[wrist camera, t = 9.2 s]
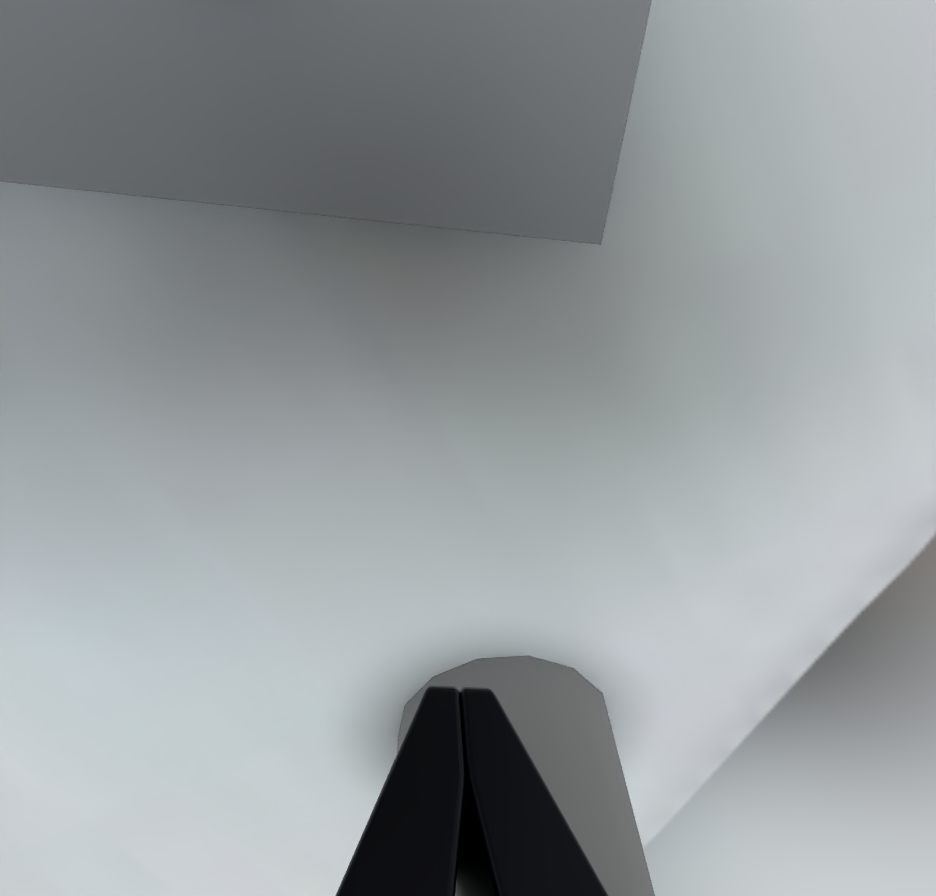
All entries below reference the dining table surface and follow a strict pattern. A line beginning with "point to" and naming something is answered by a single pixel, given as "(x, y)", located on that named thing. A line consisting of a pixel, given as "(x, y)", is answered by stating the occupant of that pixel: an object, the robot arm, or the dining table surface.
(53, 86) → the base
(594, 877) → the robot arm
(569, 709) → the cup
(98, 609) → the dining table surface
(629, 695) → the dining table surface
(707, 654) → the dining table surface
